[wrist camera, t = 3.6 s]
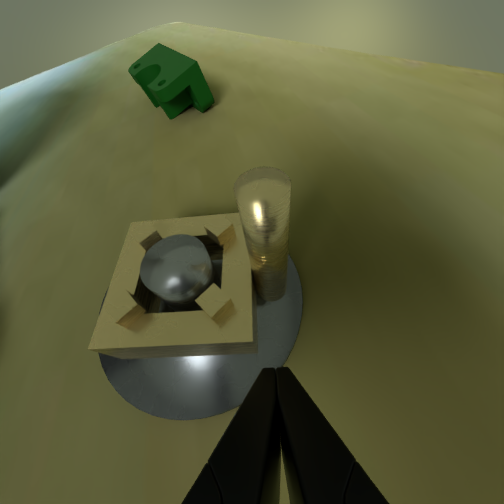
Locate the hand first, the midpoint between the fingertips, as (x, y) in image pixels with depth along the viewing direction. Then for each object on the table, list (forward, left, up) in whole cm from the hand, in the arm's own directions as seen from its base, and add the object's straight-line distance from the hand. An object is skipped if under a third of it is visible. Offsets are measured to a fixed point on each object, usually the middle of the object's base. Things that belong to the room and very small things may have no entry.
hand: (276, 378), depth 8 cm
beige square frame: (+7, +1, -5) cm, 9 cm away
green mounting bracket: (+38, -5, -7) cm, 39 cm away
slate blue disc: (+7, +2, -7) cm, 10 cm away
